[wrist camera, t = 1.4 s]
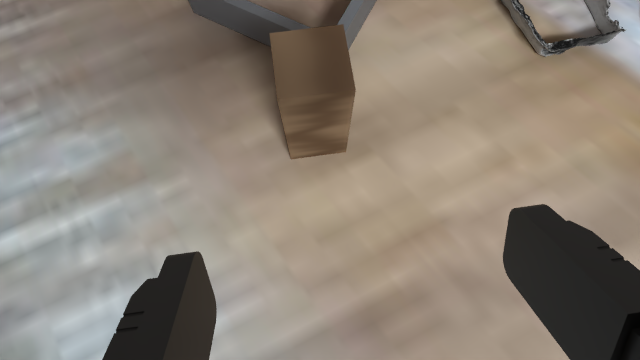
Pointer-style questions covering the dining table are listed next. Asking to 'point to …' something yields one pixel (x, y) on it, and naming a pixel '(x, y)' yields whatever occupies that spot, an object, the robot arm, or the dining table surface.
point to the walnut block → (314, 89)
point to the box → (272, 18)
